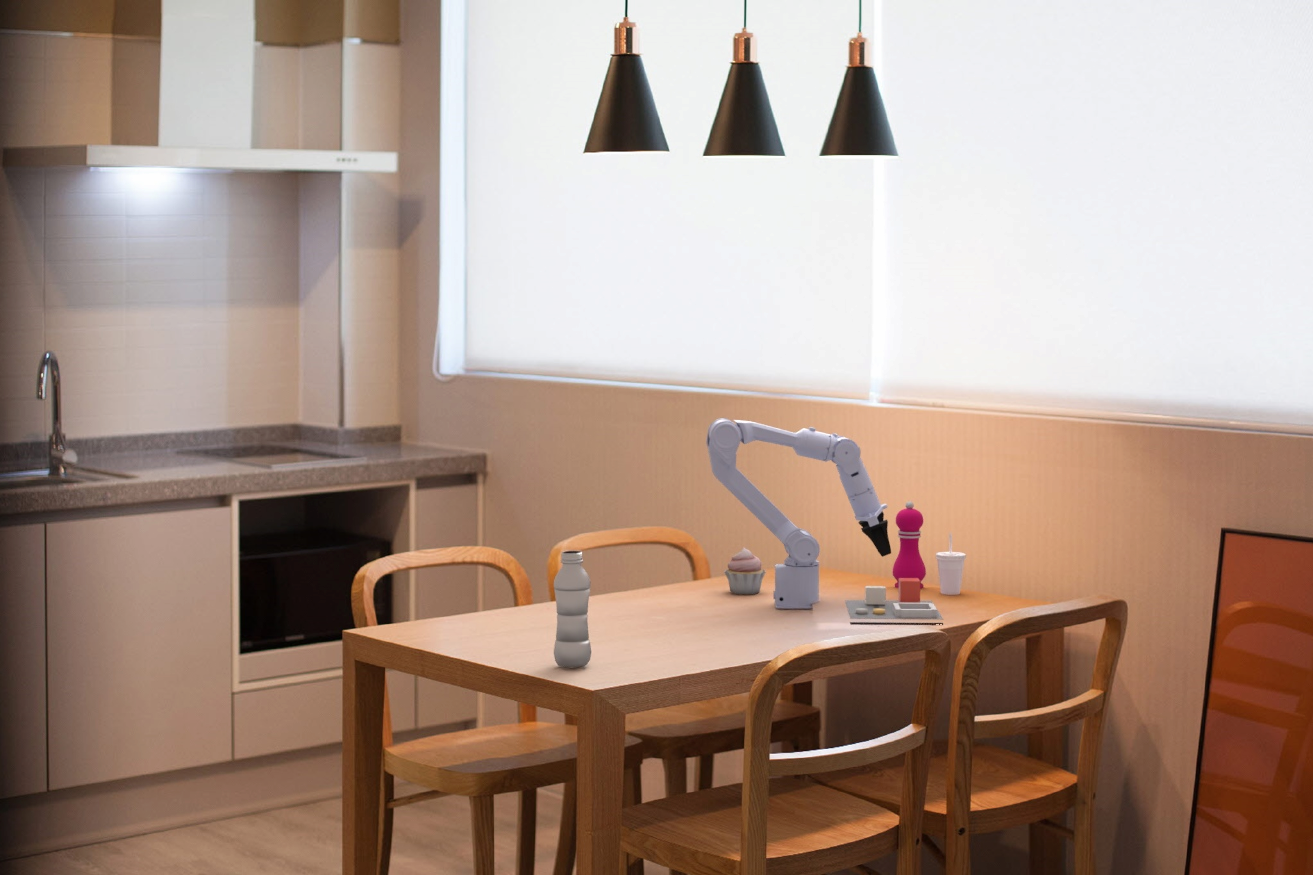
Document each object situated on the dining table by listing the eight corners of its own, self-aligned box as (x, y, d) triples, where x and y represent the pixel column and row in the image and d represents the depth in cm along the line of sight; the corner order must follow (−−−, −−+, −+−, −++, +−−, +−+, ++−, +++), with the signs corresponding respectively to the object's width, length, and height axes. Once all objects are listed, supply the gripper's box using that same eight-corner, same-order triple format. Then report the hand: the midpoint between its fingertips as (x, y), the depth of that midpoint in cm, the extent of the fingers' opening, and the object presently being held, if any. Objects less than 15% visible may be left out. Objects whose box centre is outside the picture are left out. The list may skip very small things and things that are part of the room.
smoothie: (964, 596, 333) (964, 531, 332) (967, 601, 326) (967, 535, 325) (933, 595, 333) (934, 531, 332) (936, 601, 327) (936, 535, 326)
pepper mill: (892, 588, 342) (892, 499, 341) (925, 589, 341) (925, 499, 340) (892, 594, 335) (893, 503, 334) (926, 595, 334) (926, 503, 333)
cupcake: (744, 587, 345) (744, 543, 344) (774, 592, 338) (774, 547, 338) (714, 592, 339) (714, 547, 338) (745, 597, 332) (745, 551, 331)
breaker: (865, 604, 316) (866, 587, 315) (865, 602, 318) (865, 585, 318) (885, 604, 315) (885, 588, 315) (884, 602, 318) (884, 586, 318)
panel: (850, 624, 302) (850, 610, 302) (844, 605, 322) (844, 593, 322) (943, 625, 301) (943, 611, 300) (931, 606, 321) (931, 593, 320)
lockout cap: (900, 605, 315) (900, 581, 315) (898, 601, 319) (898, 577, 319) (920, 605, 315) (920, 581, 315) (918, 601, 319) (918, 578, 319)
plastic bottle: (547, 669, 264) (546, 553, 262) (563, 661, 270) (562, 548, 269) (582, 672, 262) (580, 555, 260) (597, 664, 268) (596, 550, 266)
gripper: (881, 489, 313) (906, 550, 314) (875, 479, 327) (899, 537, 328) (849, 502, 314) (874, 563, 315) (844, 492, 328) (868, 550, 329)
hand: (885, 551), depth 322 cm, fingers open, 7 cm apart
